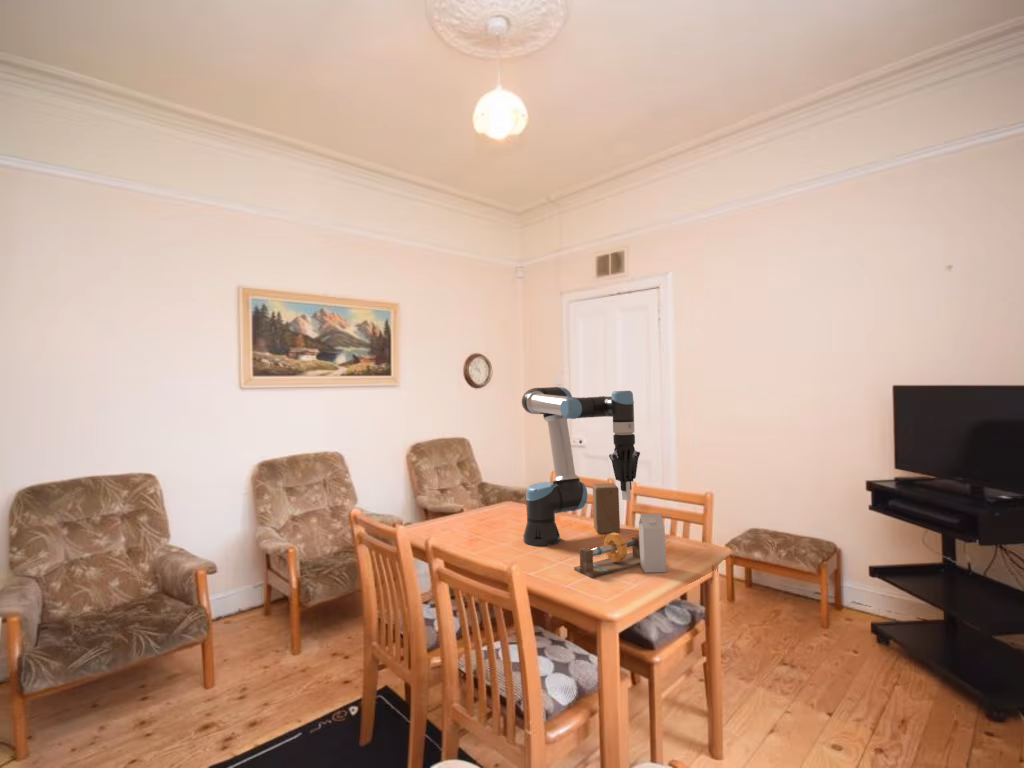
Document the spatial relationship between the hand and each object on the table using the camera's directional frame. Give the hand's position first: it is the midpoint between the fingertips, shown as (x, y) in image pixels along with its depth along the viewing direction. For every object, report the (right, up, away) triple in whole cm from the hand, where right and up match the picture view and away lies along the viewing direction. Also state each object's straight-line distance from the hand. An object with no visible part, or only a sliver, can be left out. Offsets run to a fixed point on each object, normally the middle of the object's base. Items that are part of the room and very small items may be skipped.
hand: (626, 499), depth 183 cm
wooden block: (+1, -23, +41) cm, 47 cm away
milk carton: (+7, -22, -8) cm, 25 cm away
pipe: (-5, -17, -4) cm, 18 cm away
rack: (-5, -22, -4) cm, 23 cm away
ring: (-4, -21, -3) cm, 21 cm away
